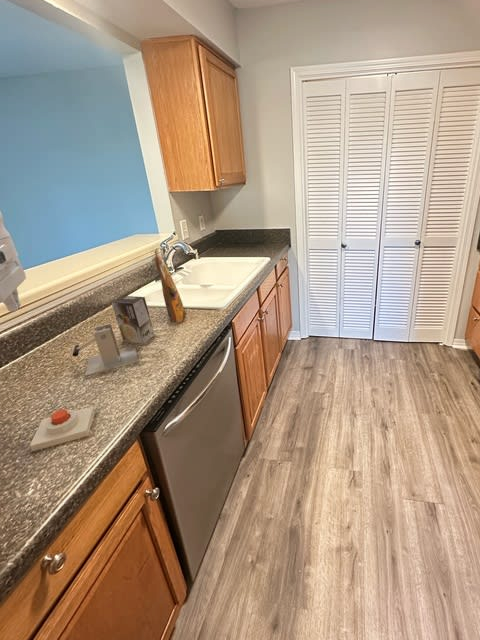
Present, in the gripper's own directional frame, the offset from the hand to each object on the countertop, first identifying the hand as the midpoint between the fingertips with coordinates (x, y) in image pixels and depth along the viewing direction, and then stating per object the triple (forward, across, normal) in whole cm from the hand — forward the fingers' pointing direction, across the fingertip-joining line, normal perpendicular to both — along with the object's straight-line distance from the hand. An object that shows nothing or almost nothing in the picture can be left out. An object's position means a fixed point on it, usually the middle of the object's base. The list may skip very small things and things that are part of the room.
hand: (15, 309), depth 77 cm
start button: (+24, +15, +5) cm, 29 cm away
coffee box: (+27, -24, +22) cm, 43 cm away
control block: (+27, +15, +5) cm, 32 cm away
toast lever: (+19, -12, +11) cm, 25 cm away
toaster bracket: (+27, -12, +14) cm, 33 cm away
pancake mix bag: (+27, -38, +36) cm, 59 cm away
